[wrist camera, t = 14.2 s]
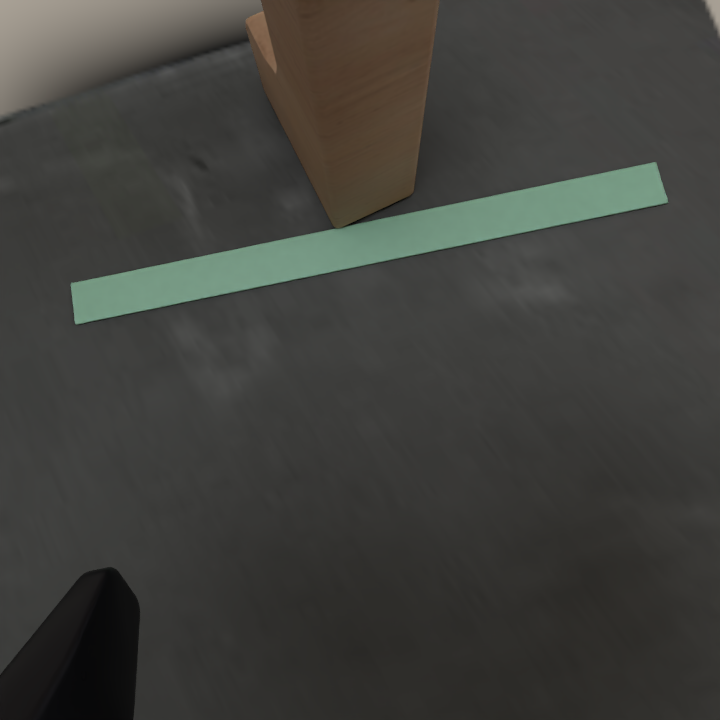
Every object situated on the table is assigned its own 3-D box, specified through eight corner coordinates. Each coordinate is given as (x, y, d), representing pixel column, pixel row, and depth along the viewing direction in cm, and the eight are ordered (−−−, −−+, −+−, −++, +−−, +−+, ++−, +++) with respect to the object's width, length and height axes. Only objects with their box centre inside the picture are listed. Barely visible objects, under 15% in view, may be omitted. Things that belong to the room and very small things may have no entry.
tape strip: (76, 324, 22) (75, 324, 22) (71, 284, 22) (70, 283, 22) (666, 203, 21) (668, 202, 21) (654, 163, 21) (655, 161, 21)
